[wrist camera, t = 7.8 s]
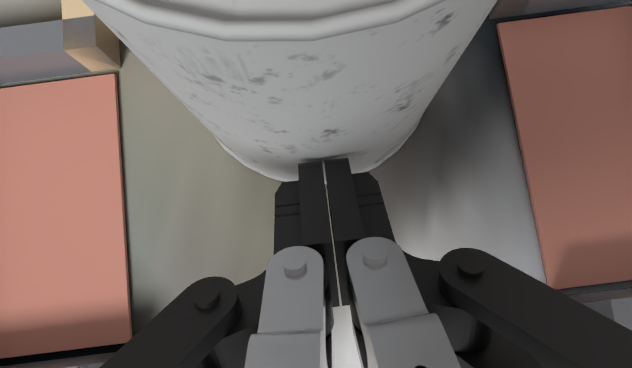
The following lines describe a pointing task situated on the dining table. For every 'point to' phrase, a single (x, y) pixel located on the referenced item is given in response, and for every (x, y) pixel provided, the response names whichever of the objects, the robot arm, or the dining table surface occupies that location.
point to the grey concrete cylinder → (300, 70)
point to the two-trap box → (107, 180)
